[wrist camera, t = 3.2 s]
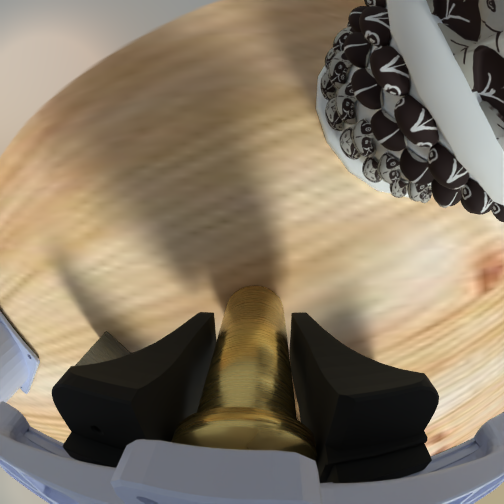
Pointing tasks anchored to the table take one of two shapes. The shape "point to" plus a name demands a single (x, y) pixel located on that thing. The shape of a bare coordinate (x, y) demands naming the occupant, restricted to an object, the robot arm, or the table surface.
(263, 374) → the hinge pin
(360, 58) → the decorative candle
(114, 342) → the fixed leaf
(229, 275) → the table surface
